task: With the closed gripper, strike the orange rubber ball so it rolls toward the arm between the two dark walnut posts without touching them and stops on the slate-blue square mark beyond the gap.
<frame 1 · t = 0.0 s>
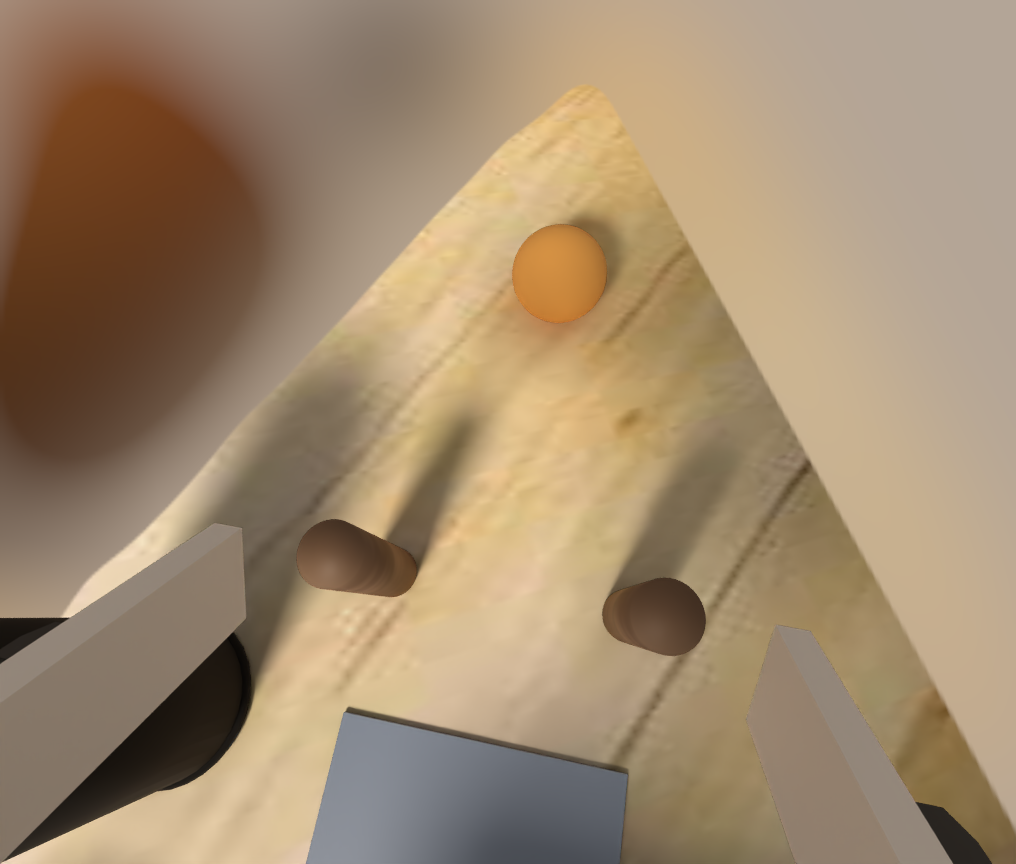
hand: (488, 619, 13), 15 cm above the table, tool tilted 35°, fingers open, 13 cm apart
post 1: (627, 615, 27), on the table
post 2: (392, 571, 28), on the table
ball: (559, 274, 31), on the table
aerosol can: (176, 695, 27), on the table
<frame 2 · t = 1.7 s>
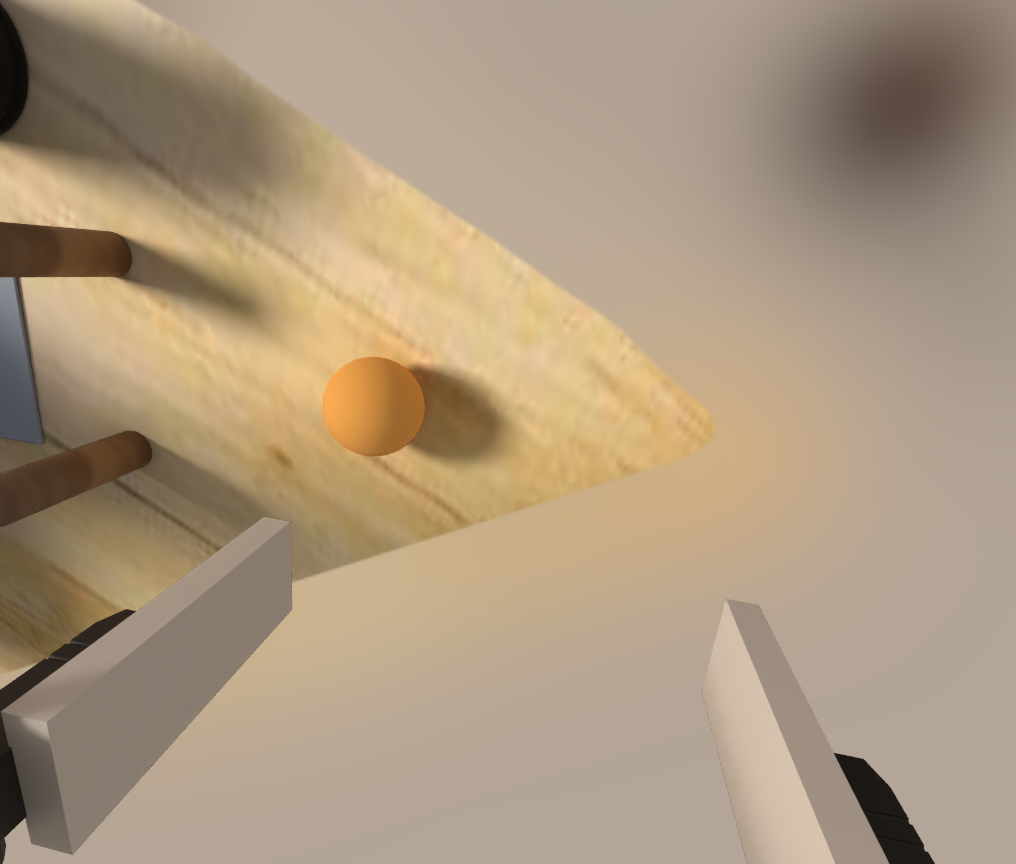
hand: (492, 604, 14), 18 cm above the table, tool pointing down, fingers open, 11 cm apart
post 1: (134, 449, 36), on the table
post 2: (111, 254, 32), on the table
ball: (374, 406, 29), on the table
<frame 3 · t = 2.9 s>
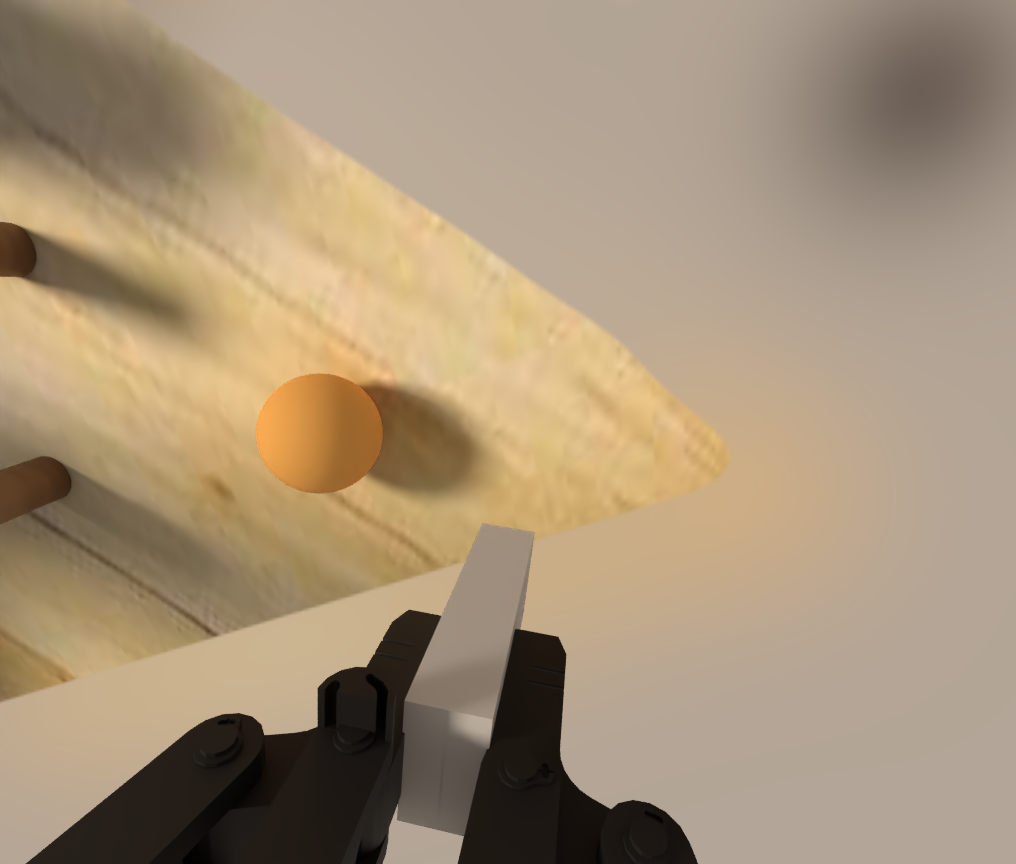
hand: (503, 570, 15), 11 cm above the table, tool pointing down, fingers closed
post 1: (50, 477, 31), on the table
post 2: (12, 249, 27), on the table
ball: (321, 433, 24), on the table
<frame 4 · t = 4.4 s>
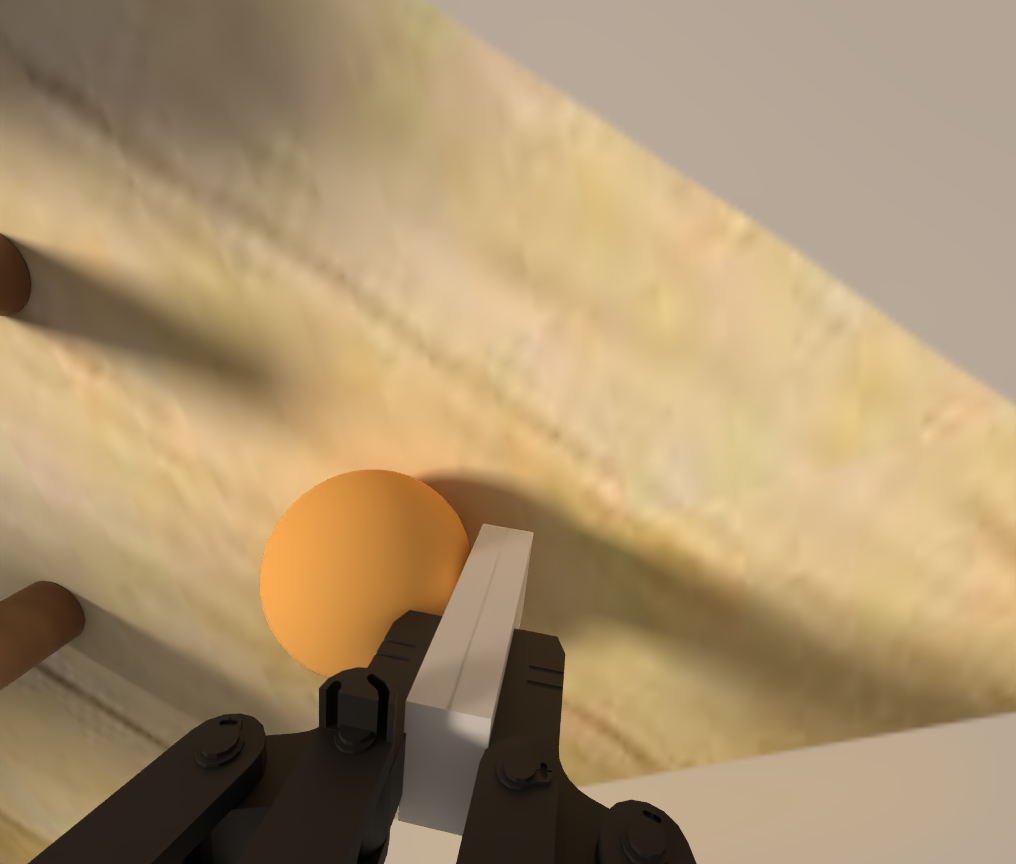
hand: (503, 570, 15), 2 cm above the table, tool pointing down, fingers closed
post 1: (54, 610, 20), on the table
ball: (371, 570, 14), on the table
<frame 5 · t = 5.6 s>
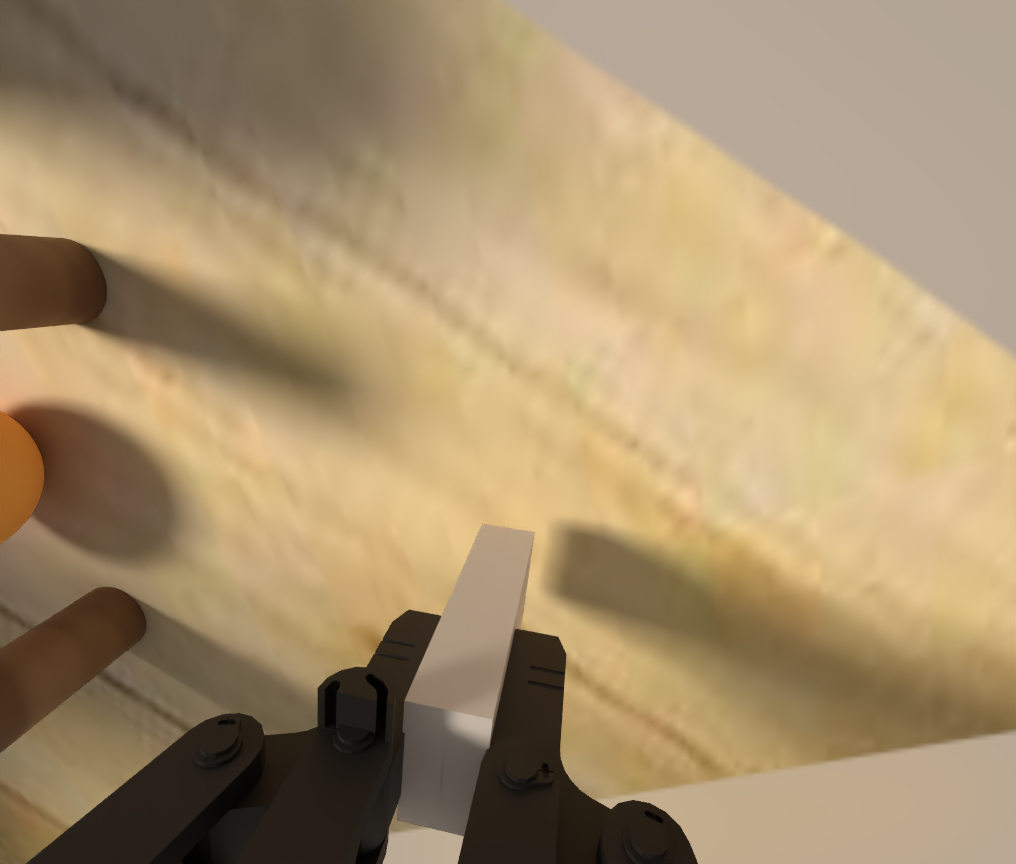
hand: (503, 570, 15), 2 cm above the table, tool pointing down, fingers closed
post 1: (115, 616, 20), on the table
post 2: (68, 281, 17), on the table
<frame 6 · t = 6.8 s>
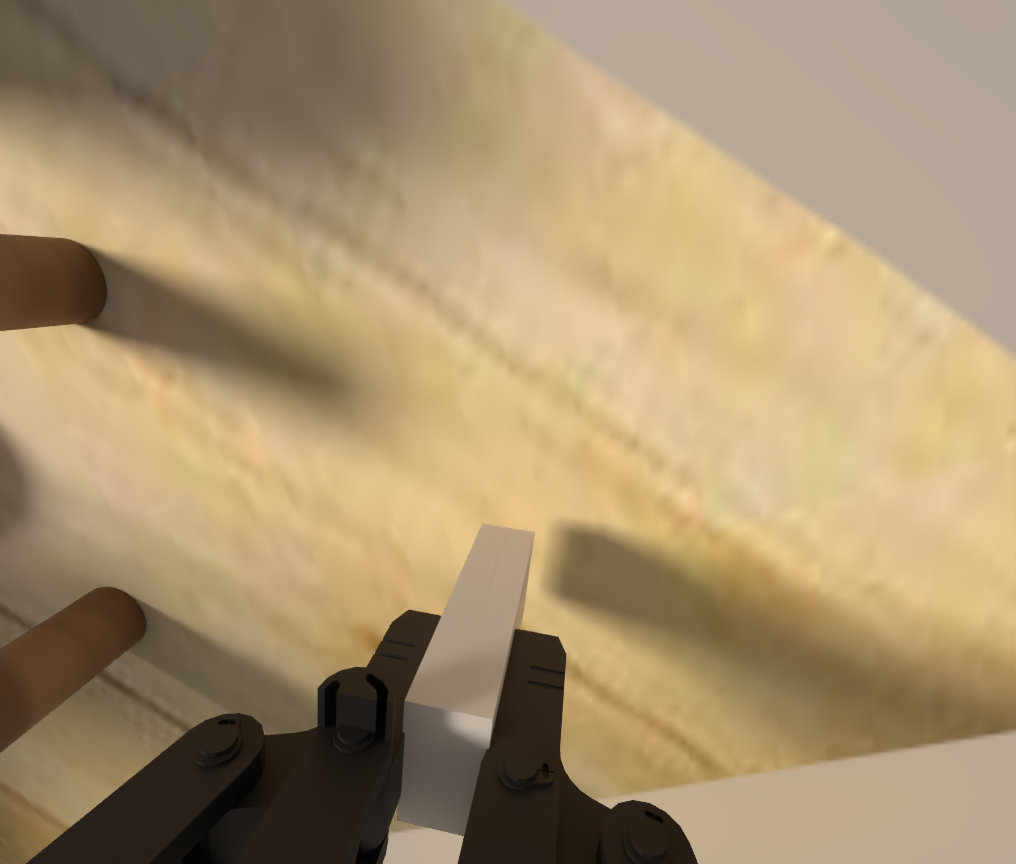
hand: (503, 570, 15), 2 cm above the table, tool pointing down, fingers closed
post 1: (115, 616, 20), on the table
post 2: (68, 281, 17), on the table
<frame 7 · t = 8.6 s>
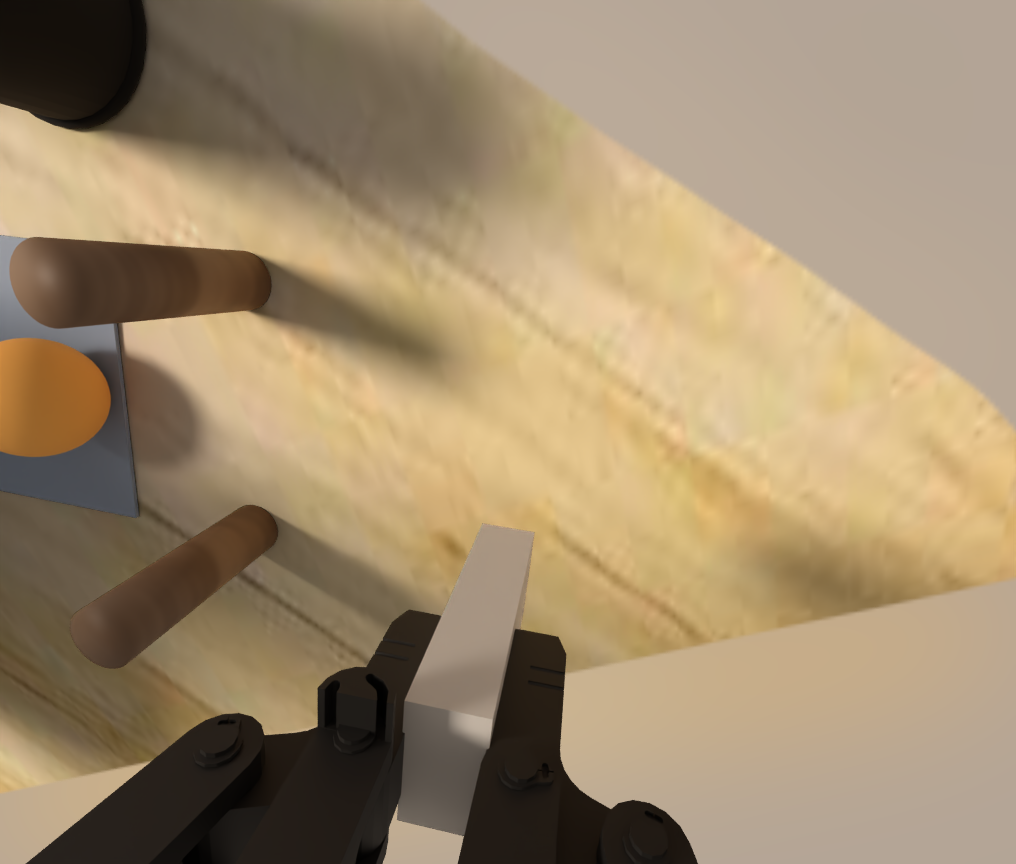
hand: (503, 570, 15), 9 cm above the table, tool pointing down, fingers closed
post 1: (255, 527, 28), on the table
post 2: (244, 281, 24), on the table
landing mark: (8, 373, 28), on the table
ball: (36, 397, 25), on the table
aerosol can: (66, 23, 22), on the table
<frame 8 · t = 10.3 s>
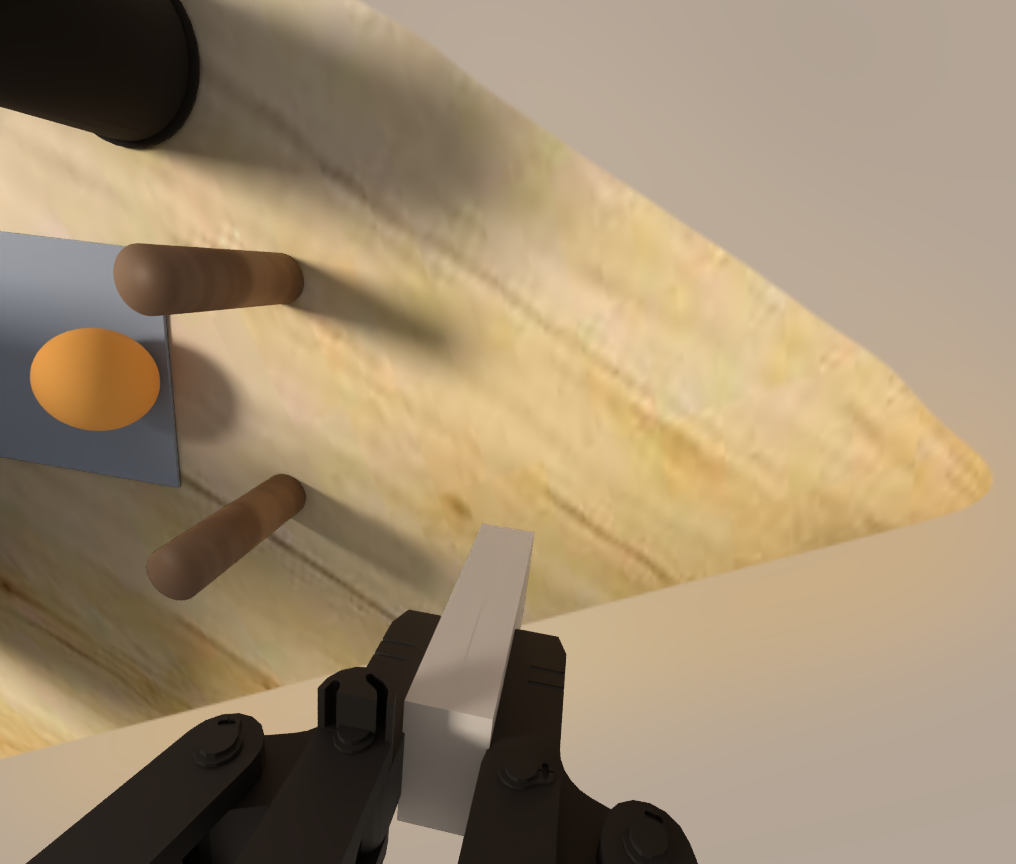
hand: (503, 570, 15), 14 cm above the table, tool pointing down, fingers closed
post 1: (285, 494, 32), on the table
post 2: (280, 278, 28), on the table
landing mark: (64, 360, 32), on the table
ball: (98, 379, 28), on the table
aerosol can: (128, 58, 26), on the table
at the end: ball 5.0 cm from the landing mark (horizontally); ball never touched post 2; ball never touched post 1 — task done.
